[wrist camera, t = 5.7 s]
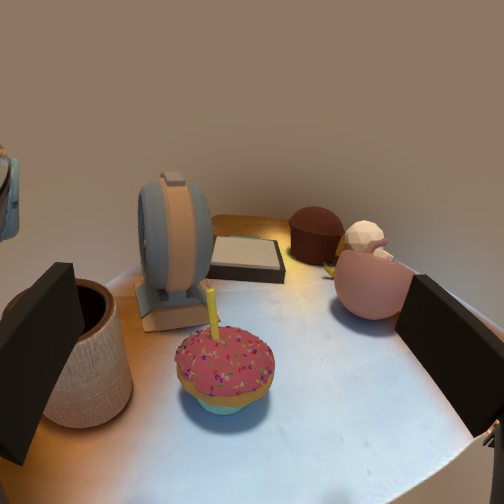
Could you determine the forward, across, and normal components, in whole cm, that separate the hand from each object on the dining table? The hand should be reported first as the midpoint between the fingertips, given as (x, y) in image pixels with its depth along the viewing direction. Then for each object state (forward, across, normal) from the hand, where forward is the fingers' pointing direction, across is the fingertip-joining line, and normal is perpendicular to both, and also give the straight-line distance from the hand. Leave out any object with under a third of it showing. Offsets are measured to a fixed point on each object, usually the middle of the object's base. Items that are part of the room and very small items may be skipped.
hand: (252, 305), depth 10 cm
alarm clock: (+26, -7, -17) cm, 32 cm away
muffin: (+45, +19, -17) cm, 52 cm away
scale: (+41, +5, -17) cm, 44 cm away
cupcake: (+10, 0, -17) cm, 20 cm away
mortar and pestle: (+24, +21, -17) cm, 36 cm away
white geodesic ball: (+42, +30, -17) cm, 55 cm away
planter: (+9, -14, -17) cm, 24 cm away
